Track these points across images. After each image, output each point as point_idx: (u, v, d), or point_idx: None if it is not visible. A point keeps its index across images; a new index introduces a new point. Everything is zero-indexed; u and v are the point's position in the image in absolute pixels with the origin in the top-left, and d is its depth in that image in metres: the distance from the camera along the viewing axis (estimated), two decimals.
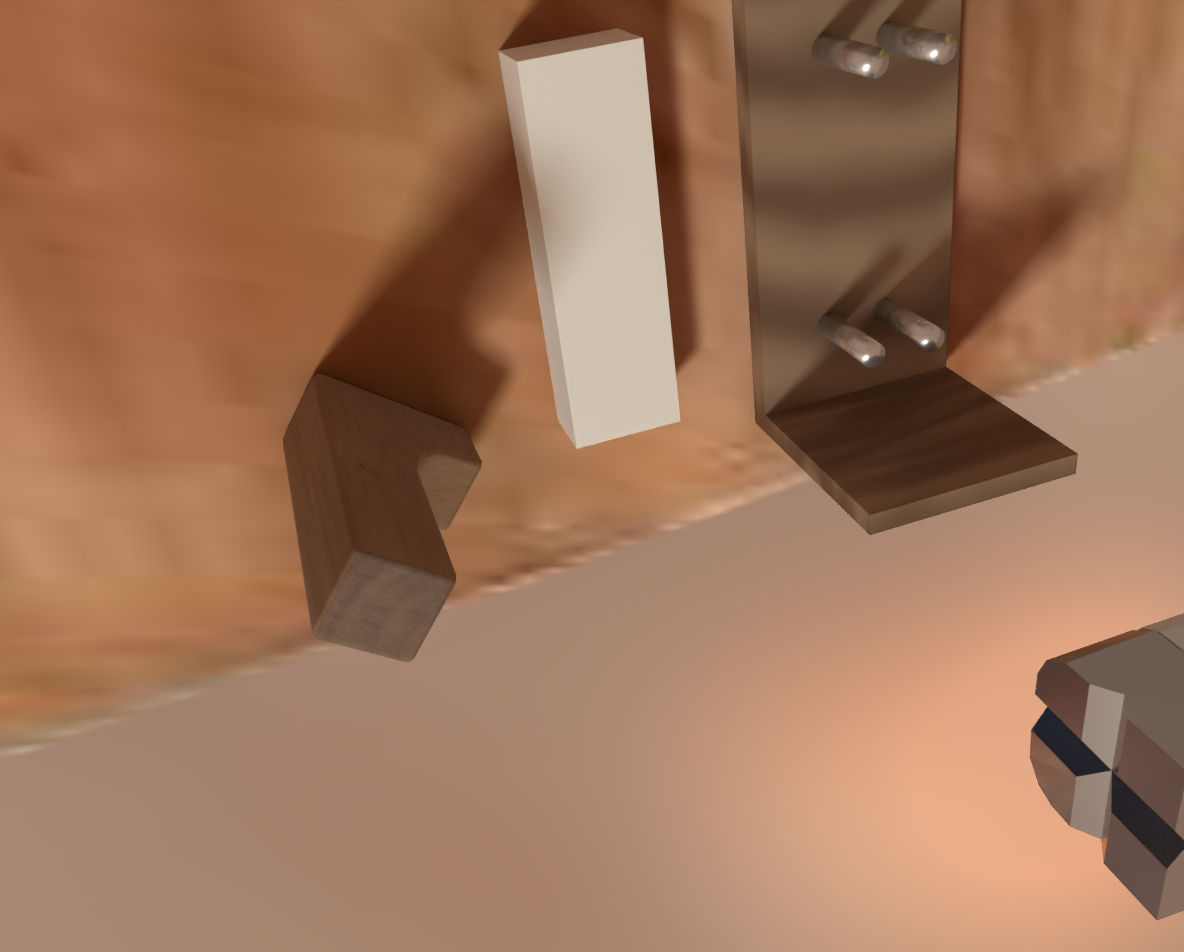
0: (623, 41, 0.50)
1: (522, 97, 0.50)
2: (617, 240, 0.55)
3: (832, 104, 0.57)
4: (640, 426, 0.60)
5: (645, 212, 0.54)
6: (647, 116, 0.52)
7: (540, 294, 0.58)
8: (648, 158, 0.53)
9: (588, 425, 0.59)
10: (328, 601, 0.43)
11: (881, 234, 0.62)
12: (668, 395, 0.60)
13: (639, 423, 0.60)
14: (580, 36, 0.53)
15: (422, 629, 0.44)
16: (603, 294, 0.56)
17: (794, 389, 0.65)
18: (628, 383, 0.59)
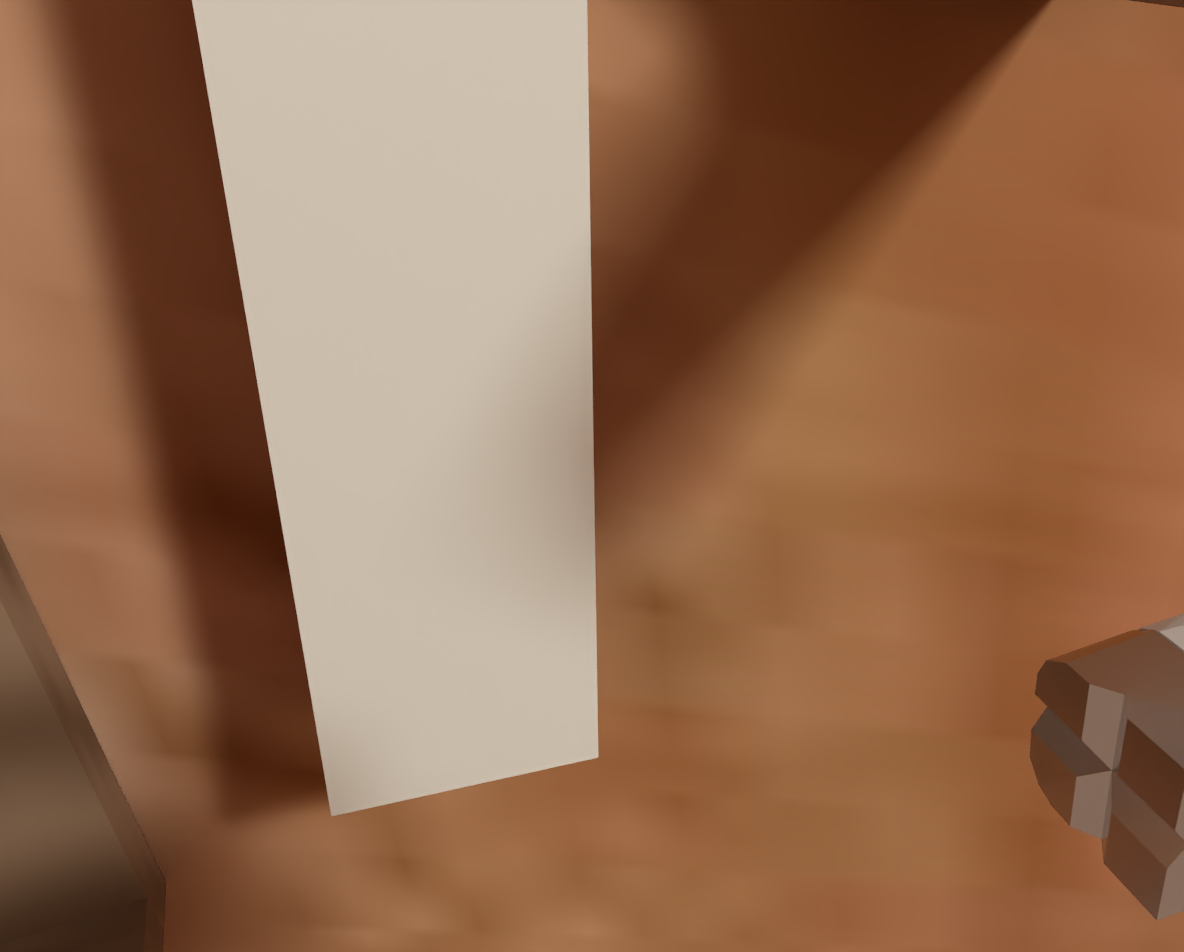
0: (374, 804, 0.24)
1: (596, 702, 0.25)
2: (399, 416, 0.20)
3: None
4: None
5: (317, 481, 0.20)
6: (317, 685, 0.22)
7: None
8: (312, 603, 0.21)
9: None
10: None
11: None
12: None
13: None
14: None
15: None
16: (446, 273, 0.19)
17: None
18: None
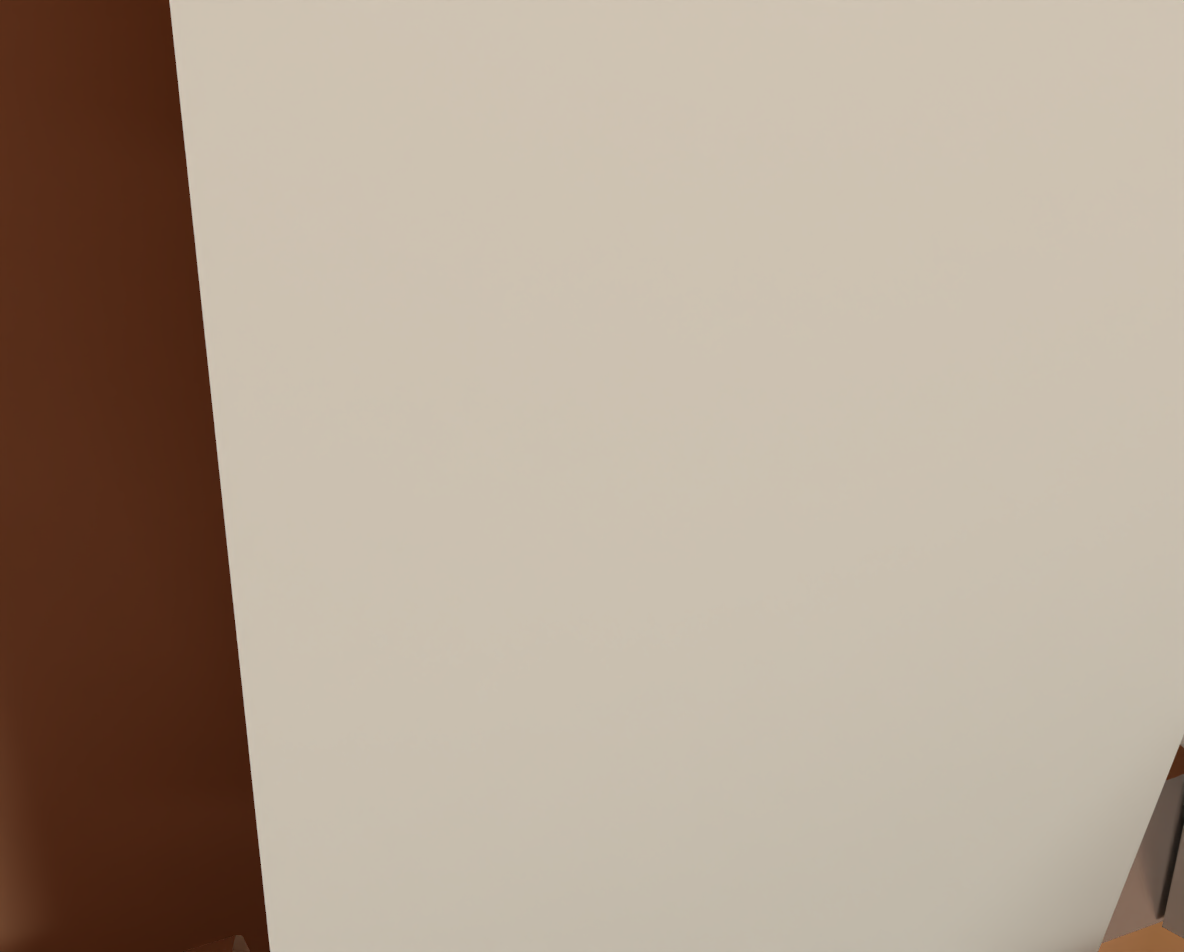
0: None
1: None
2: None
3: None
4: None
5: None
6: None
7: None
8: None
9: None
10: None
11: None
12: None
13: None
14: None
15: None
16: (825, 888, 0.07)
17: None
18: None
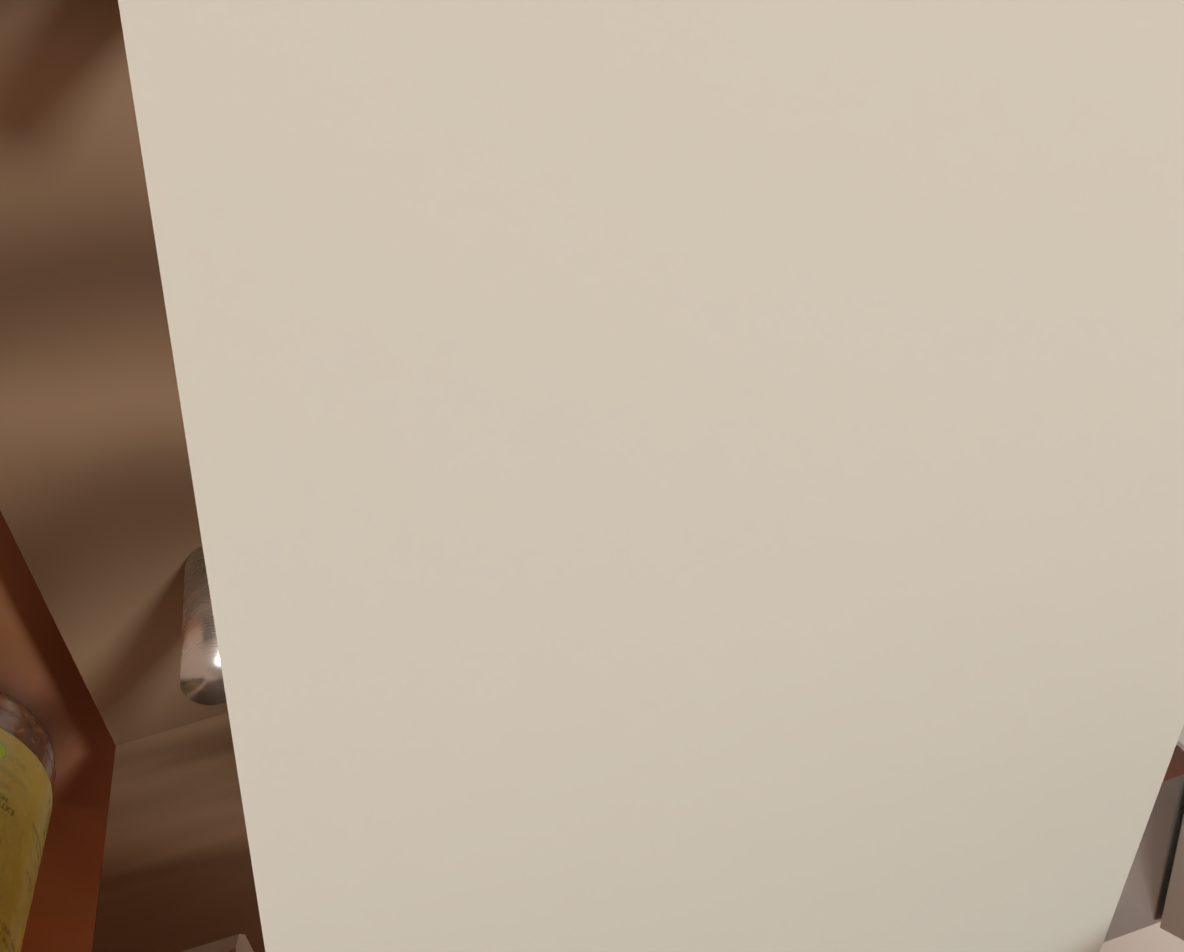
0: None
1: None
2: None
3: None
4: None
5: None
6: None
7: None
8: None
9: None
10: None
11: (77, 179, 0.24)
12: None
13: None
14: None
15: None
16: (826, 884, 0.07)
17: None
18: None
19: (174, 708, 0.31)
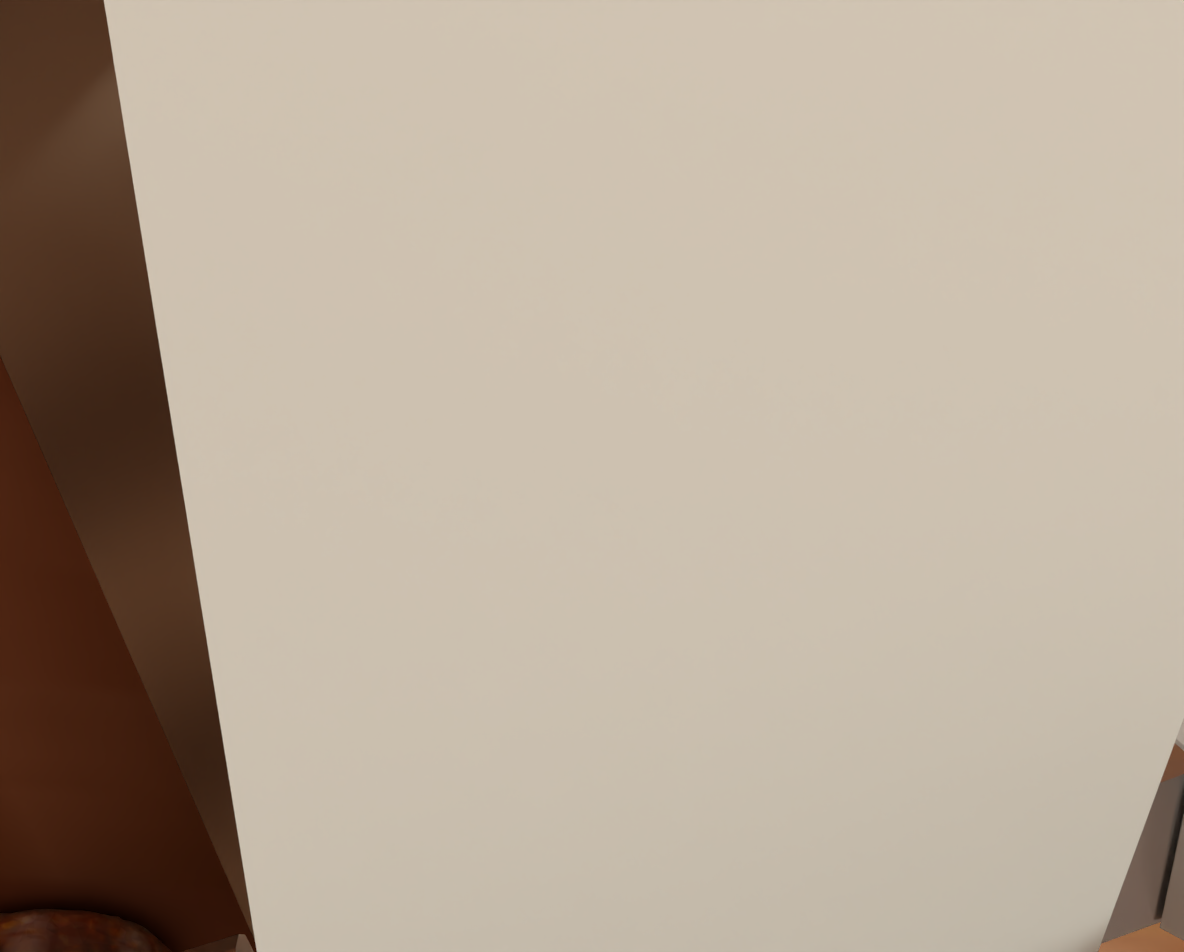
0: None
1: None
2: None
3: None
4: None
5: None
6: None
7: None
8: None
9: None
10: None
11: None
12: None
13: None
14: None
15: None
16: (822, 887, 0.07)
17: None
18: None
19: None
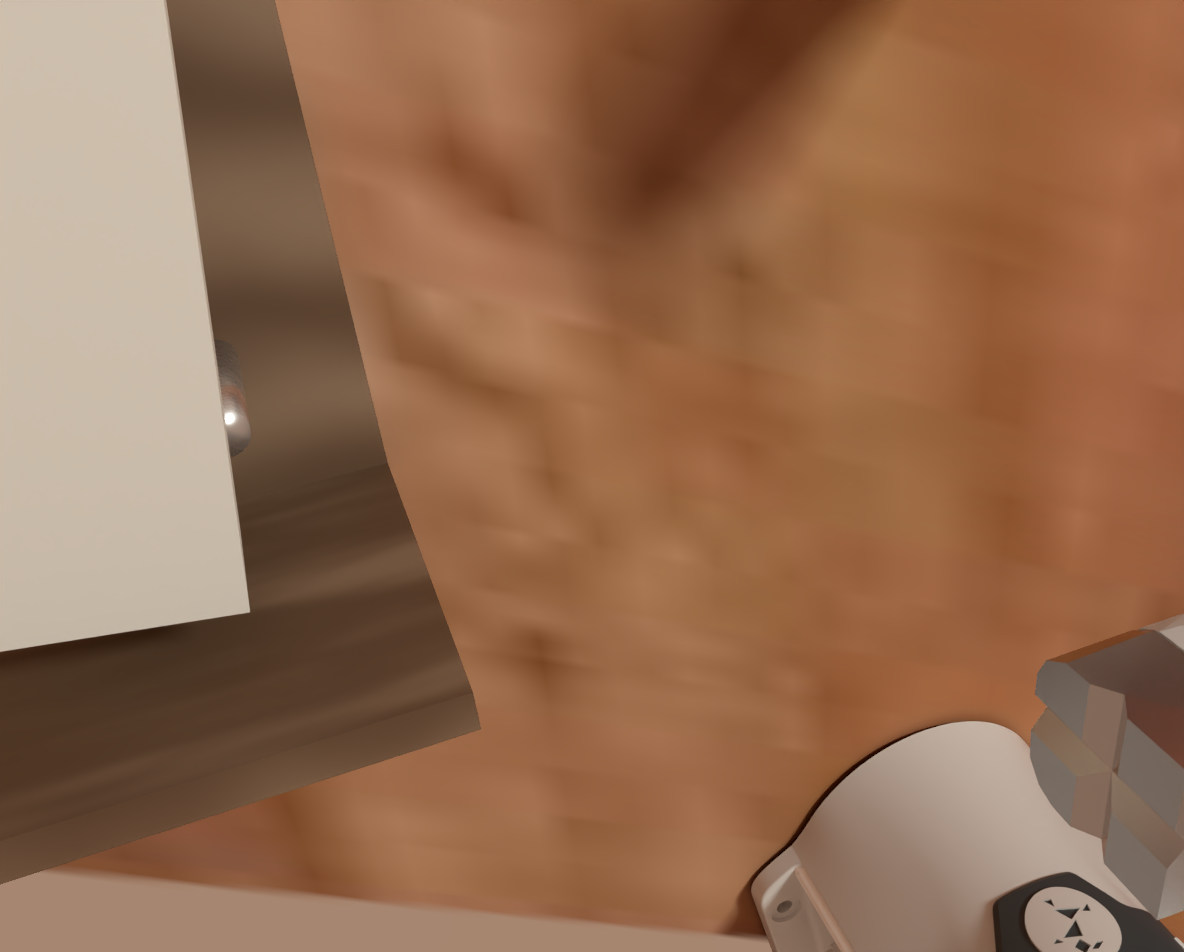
0: (19, 646, 0.25)
1: (241, 556, 0.26)
2: None
3: None
4: None
5: None
6: None
7: (174, 64, 0.23)
8: None
9: None
10: None
11: None
12: None
13: None
14: None
15: None
16: (30, 116, 0.20)
17: None
18: None
19: None
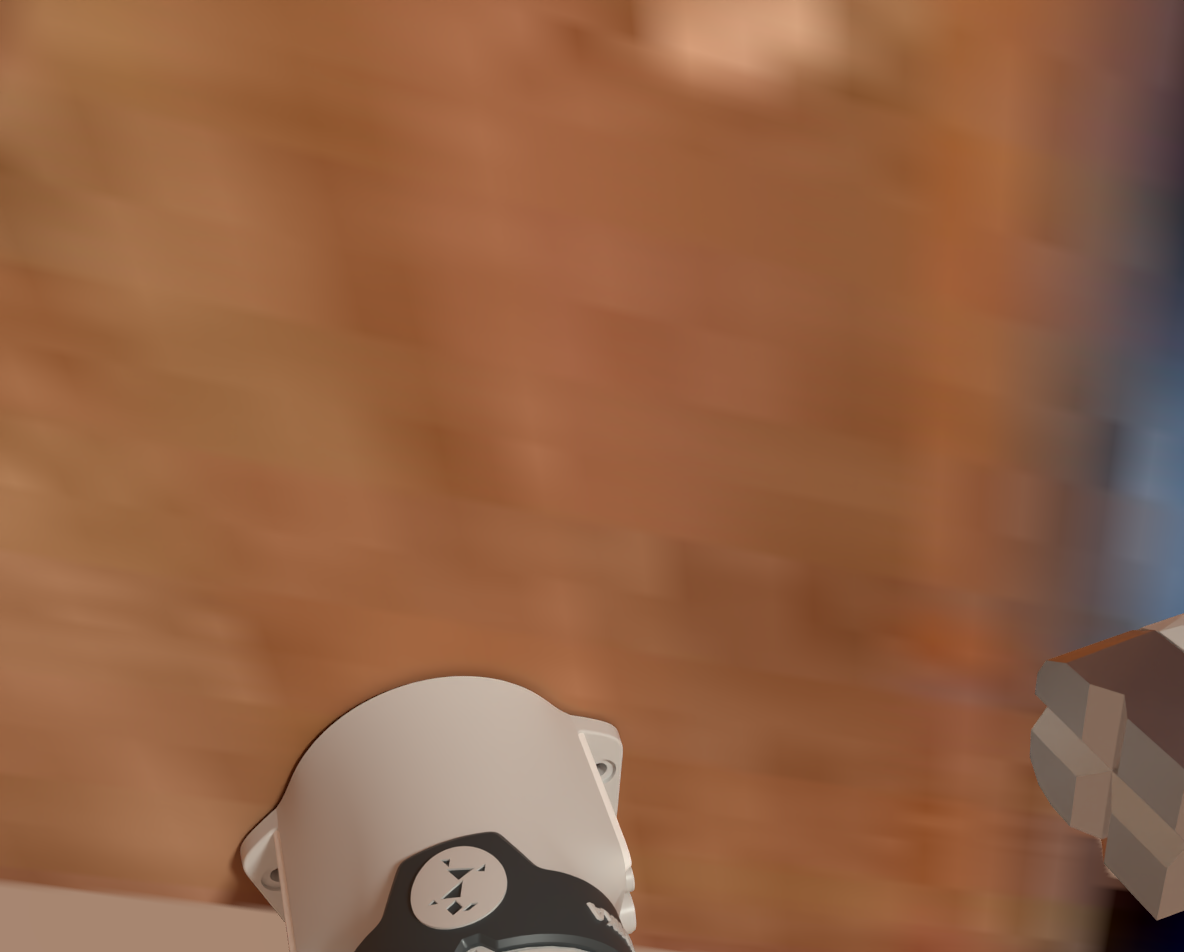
0: None
1: None
2: None
3: None
4: None
5: None
6: None
7: None
8: None
9: None
10: None
11: None
12: None
13: None
14: None
15: None
16: None
17: None
18: None
19: None
